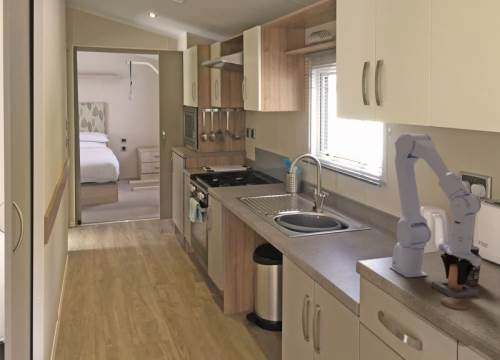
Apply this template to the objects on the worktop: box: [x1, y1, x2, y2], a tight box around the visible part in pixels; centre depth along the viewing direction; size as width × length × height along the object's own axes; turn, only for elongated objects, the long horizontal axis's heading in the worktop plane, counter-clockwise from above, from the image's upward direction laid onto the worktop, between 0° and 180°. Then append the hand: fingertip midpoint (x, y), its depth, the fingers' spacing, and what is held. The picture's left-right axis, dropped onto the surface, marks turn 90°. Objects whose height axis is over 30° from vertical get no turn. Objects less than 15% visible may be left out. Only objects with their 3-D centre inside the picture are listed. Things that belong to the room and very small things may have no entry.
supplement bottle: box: [459, 245, 482, 286], centre depth 153 cm, size 6×6×11 cm
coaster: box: [440, 296, 469, 311], centre depth 136 cm, size 7×7×1 cm
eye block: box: [430, 279, 480, 299], centre depth 146 cm, size 9×9×2 cm
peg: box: [447, 264, 462, 290], centre depth 145 cm, size 4×4×8 cm
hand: (455, 281), depth 145 cm, fingers closed on peg, 4 cm apart
